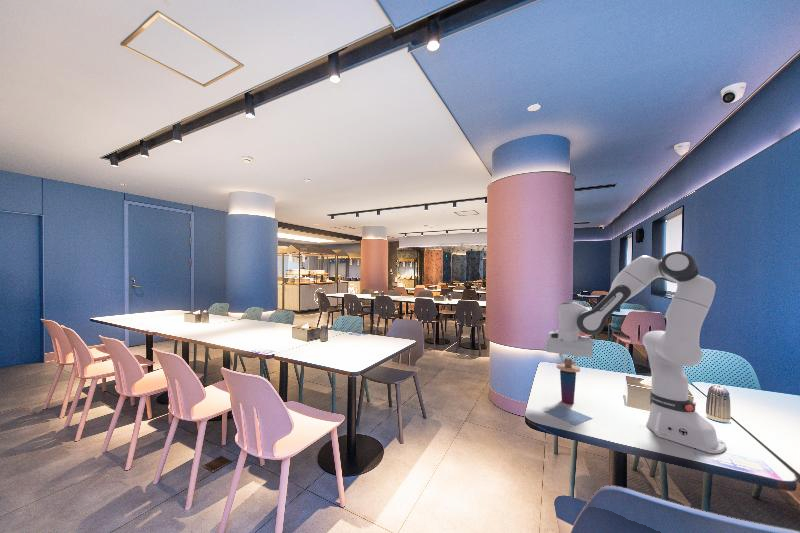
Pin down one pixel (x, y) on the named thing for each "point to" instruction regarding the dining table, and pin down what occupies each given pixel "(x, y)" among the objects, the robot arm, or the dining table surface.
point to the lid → (568, 366)
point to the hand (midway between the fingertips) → (568, 363)
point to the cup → (567, 386)
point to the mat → (568, 415)
